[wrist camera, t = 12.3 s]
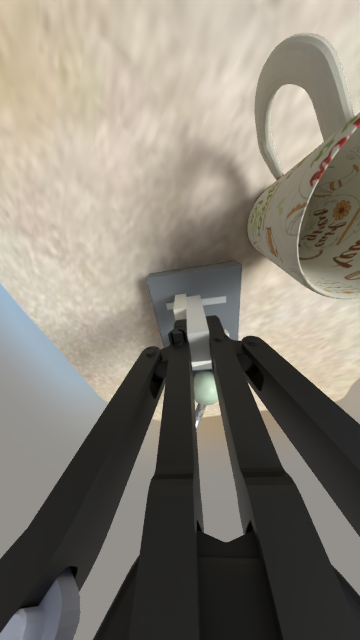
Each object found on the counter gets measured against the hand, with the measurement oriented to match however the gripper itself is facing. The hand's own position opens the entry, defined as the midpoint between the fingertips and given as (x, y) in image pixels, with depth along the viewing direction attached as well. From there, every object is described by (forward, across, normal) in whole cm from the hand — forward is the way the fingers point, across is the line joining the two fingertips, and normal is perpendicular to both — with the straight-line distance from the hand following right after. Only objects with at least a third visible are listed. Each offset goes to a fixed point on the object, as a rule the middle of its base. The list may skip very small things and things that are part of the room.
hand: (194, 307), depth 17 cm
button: (0, 0, -11) cm, 11 cm away
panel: (+3, 0, -8) cm, 8 cm away
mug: (+4, +8, +8) cm, 12 cm away
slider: (+1, -1, 0) cm, 2 cm away
